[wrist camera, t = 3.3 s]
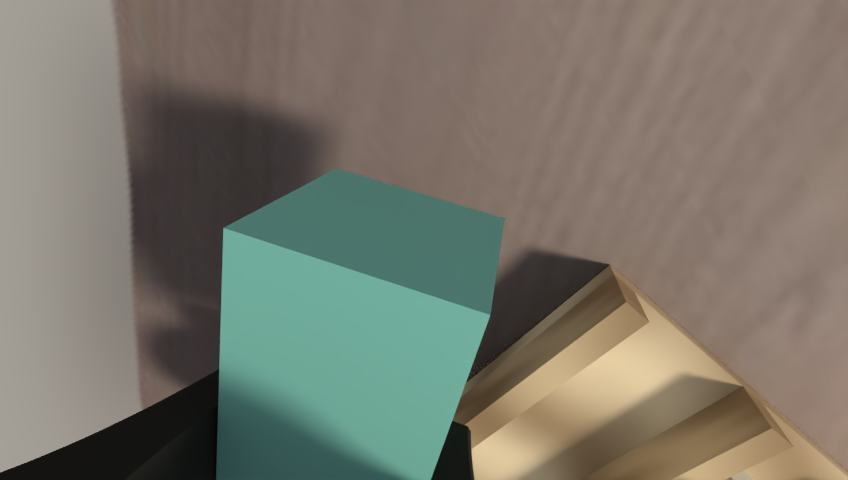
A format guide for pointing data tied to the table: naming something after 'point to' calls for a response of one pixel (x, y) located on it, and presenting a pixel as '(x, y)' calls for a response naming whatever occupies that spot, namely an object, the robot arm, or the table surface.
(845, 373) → the table surface
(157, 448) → the robot arm
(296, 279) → the tall teal pillar
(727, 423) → the slotted board
